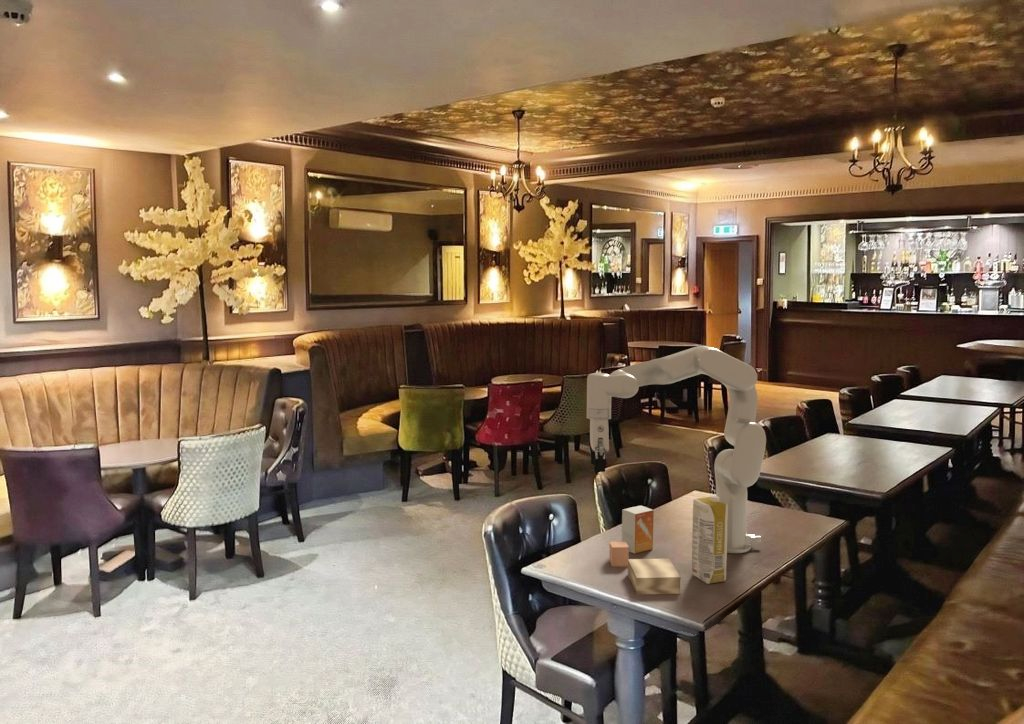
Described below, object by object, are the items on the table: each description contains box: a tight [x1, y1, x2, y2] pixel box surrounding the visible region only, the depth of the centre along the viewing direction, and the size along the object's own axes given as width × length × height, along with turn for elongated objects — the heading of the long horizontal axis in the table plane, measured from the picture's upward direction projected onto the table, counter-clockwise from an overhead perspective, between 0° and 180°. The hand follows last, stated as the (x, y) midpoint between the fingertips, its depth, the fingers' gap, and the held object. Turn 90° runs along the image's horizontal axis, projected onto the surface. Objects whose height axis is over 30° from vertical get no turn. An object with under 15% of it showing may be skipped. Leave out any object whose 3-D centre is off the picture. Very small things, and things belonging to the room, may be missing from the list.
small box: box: [621, 504, 655, 555], centre depth 242 cm, size 8×6×13 cm
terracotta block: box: [608, 541, 630, 567], centre depth 230 cm, size 5×5×6 cm
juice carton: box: [691, 495, 728, 585], centre depth 217 cm, size 9×8×24 cm
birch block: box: [627, 558, 681, 595], centre depth 215 cm, size 12×14×5 cm
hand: (597, 467), depth 236 cm, fingers open, 9 cm apart
